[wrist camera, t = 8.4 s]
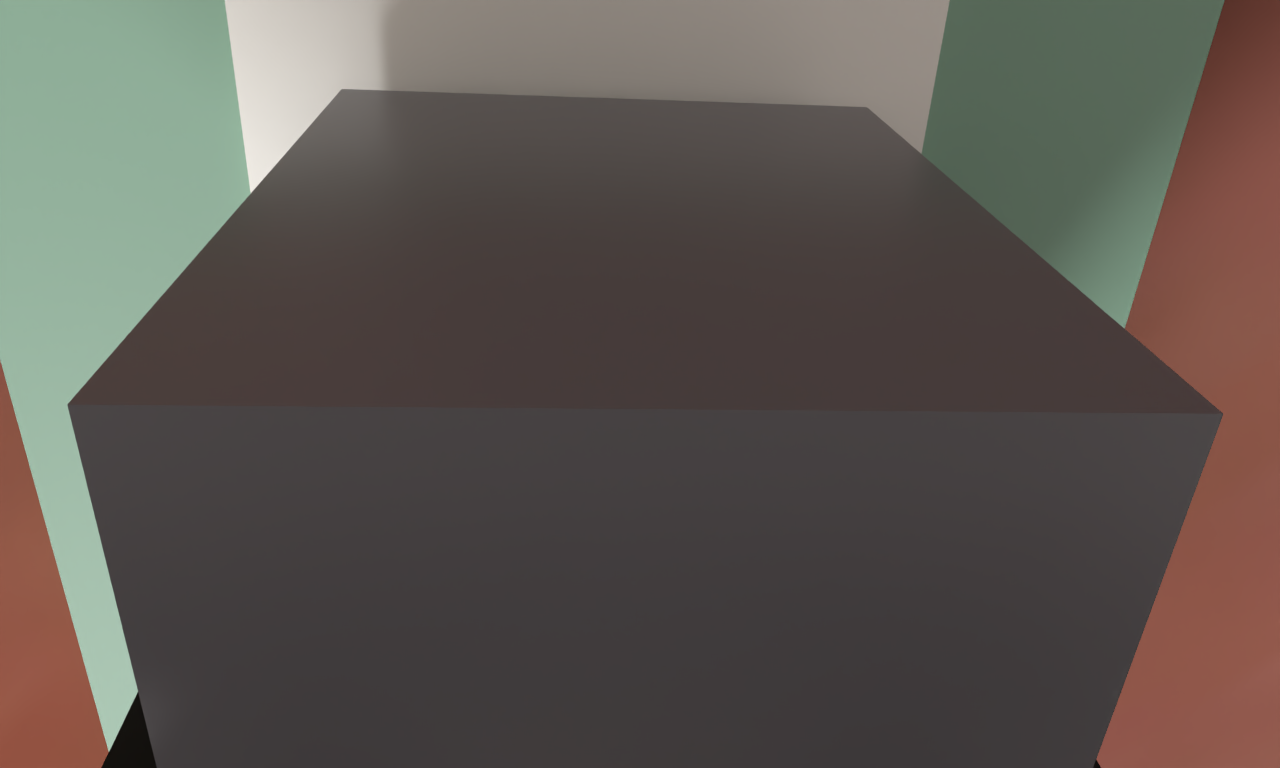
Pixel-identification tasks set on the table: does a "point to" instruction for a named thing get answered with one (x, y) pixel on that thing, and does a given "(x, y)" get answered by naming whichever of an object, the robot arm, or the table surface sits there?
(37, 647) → the table surface
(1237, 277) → the table surface
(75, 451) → the header board
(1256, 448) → the table surface
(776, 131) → the block
